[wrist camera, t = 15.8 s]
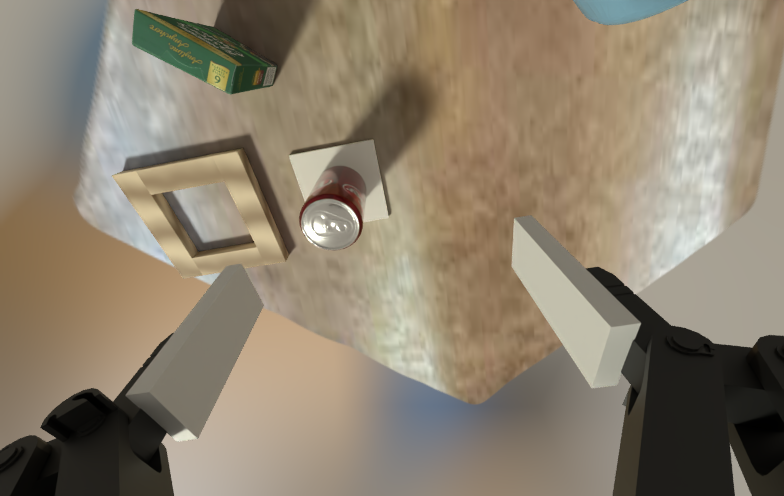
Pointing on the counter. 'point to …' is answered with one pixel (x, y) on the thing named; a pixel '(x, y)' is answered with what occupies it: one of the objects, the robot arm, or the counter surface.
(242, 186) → the well board
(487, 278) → the counter surface
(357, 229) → the soda can
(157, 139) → the counter surface
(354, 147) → the tile
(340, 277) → the counter surface
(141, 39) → the coffee box
